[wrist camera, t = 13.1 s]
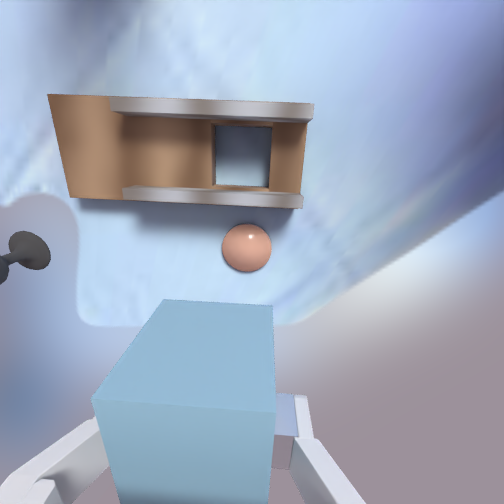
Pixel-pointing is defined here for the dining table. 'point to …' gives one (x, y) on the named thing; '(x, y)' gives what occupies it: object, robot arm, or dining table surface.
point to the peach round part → (246, 247)
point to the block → (193, 406)
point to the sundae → (25, 253)
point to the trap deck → (173, 148)
